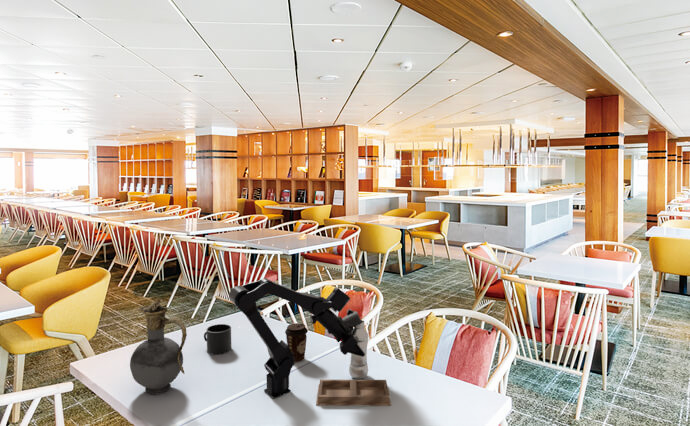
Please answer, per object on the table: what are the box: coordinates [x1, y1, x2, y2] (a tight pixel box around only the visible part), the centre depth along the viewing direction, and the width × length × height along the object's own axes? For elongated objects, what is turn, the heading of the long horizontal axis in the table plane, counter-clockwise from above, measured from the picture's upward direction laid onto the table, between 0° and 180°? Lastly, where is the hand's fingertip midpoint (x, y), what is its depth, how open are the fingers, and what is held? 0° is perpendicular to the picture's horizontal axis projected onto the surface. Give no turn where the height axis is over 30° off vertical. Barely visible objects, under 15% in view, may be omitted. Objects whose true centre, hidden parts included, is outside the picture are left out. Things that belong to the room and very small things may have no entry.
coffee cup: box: [284, 323, 309, 363], centre depth 163 cm, size 9×8×13 cm
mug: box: [203, 323, 232, 355], centre depth 172 cm, size 9×12×9 cm
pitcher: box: [129, 299, 188, 395], centre depth 139 cm, size 11×19×30 cm, turn 75°
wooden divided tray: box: [315, 379, 392, 407], centre depth 137 cm, size 23×12×2 cm, turn 90°
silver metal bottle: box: [348, 319, 369, 380], centre depth 148 cm, size 6×7×20 cm
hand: (362, 351), depth 149 cm, fingers closed on silver metal bottle, 6 cm apart
